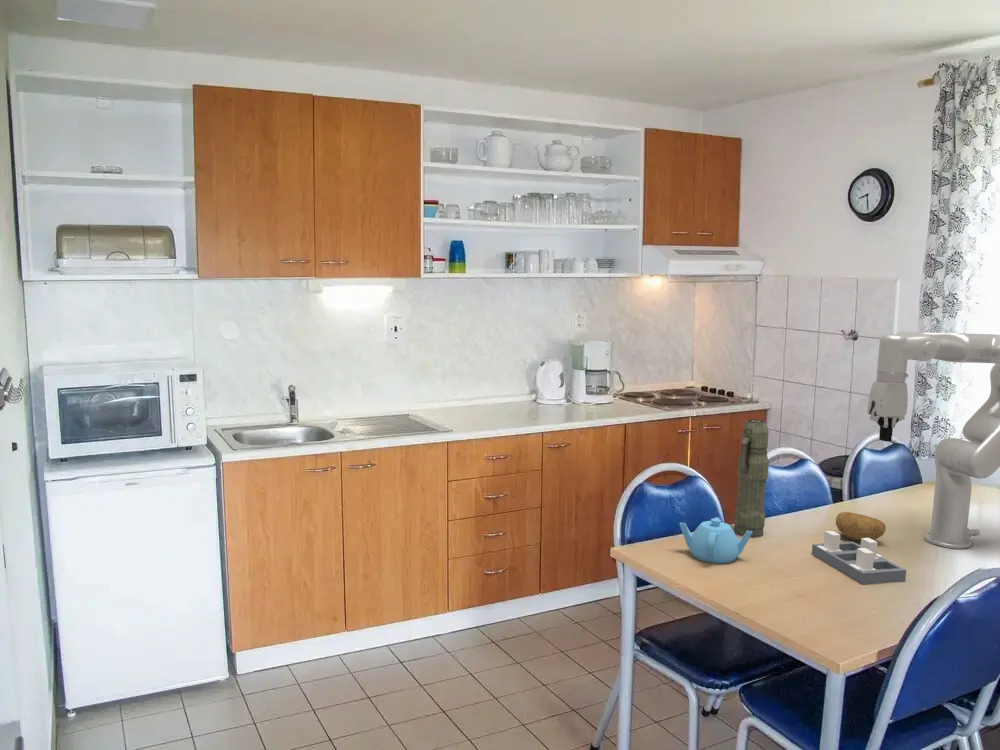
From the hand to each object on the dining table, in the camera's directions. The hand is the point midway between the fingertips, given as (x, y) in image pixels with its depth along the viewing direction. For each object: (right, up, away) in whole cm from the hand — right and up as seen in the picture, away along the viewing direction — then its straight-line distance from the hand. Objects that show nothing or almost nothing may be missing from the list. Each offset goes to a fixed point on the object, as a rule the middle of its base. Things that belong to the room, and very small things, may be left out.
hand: (885, 440), depth 235 cm
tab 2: (-10, -33, -11) cm, 36 cm away
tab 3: (-15, -34, -19) cm, 42 cm away
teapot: (-51, -32, -5) cm, 60 cm away
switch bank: (-13, -34, -12) cm, 38 cm away
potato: (-3, -31, +10) cm, 33 cm away
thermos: (-35, -30, +15) cm, 48 cm away
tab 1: (-18, -32, -6) cm, 37 cm away
